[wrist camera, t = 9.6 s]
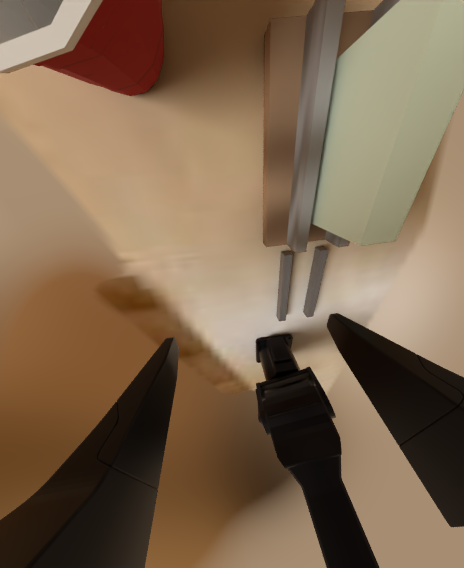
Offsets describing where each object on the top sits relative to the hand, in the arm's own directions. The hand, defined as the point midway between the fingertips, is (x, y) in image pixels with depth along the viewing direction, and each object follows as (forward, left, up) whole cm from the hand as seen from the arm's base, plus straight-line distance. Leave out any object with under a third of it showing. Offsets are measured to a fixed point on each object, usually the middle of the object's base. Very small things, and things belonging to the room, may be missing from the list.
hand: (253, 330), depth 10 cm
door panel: (+8, -9, -11) cm, 16 cm away
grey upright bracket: (-7, -9, -12) cm, 17 cm away
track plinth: (+8, -9, -12) cm, 17 cm away
